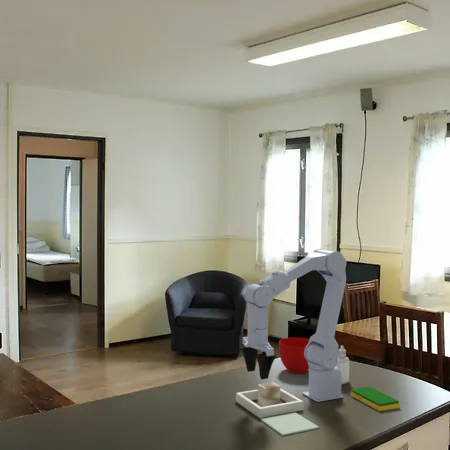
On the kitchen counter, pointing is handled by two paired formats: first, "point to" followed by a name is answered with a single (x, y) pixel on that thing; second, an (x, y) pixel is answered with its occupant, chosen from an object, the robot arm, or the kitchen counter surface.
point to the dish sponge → (375, 398)
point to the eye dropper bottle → (343, 365)
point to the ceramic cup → (294, 354)
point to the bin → (290, 406)
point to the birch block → (268, 394)
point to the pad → (289, 424)
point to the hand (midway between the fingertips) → (257, 374)
